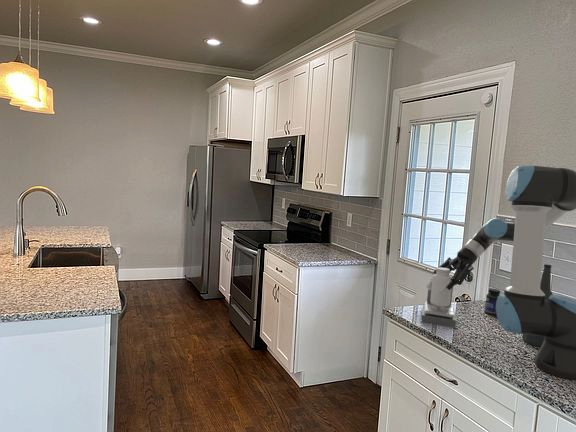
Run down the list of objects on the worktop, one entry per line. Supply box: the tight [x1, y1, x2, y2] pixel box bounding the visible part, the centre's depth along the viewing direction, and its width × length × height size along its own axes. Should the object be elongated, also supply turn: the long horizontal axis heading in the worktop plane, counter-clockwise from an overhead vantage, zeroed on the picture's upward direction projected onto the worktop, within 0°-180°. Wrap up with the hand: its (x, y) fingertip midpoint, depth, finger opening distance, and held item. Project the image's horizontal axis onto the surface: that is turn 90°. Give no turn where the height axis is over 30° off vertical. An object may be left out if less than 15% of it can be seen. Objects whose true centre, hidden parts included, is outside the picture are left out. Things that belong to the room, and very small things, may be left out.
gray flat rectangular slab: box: [424, 301, 454, 318], centre depth 184 cm, size 14×11×1 cm
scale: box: [421, 286, 457, 329], centre depth 185 cm, size 18×13×13 cm
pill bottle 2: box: [484, 288, 501, 316], centre depth 198 cm, size 6×6×11 cm
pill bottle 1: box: [430, 267, 453, 306], centre depth 182 cm, size 8×8×15 cm
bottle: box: [522, 264, 554, 348], centre depth 163 cm, size 10×10×30 cm
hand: (434, 290), depth 181 cm, fingers closed on pill bottle 1, 8 cm apart
